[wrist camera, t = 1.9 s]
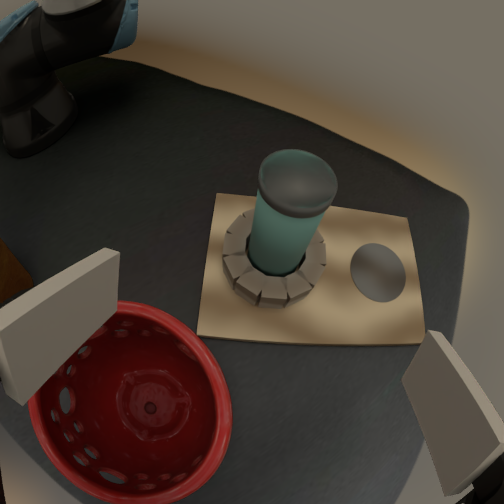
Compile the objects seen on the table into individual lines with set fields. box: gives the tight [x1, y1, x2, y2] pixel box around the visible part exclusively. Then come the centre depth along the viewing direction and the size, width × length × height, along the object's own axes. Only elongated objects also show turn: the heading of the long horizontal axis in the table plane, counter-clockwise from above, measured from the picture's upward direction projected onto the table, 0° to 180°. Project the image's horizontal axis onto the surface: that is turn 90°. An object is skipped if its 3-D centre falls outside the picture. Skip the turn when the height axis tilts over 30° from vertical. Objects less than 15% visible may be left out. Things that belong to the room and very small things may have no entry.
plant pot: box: [28, 301, 233, 504], centre depth 19 cm, size 13×13×12 cm
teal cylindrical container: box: [247, 149, 337, 277], centre depth 25 cm, size 5×5×13 cm
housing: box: [197, 193, 425, 346], centre depth 30 cm, size 16×24×4 cm, turn 86°
